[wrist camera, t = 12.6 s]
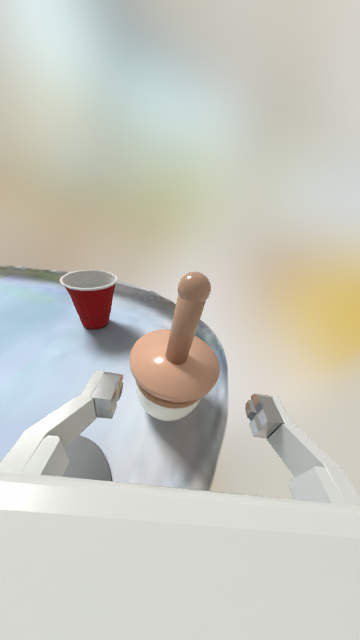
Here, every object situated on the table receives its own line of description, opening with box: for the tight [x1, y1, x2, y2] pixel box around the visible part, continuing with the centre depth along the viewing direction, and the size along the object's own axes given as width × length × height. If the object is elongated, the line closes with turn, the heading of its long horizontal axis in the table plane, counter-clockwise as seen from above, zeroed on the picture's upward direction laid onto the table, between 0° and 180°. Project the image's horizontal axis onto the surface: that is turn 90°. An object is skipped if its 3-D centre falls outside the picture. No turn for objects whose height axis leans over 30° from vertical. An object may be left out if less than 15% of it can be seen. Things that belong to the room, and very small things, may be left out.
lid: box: [130, 272, 220, 402], centre depth 19 cm, size 12×12×12 cm
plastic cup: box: [60, 270, 117, 329], centre depth 37 cm, size 11×11×12 cm
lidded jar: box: [135, 380, 201, 421], centre depth 25 cm, size 11×11×9 cm
